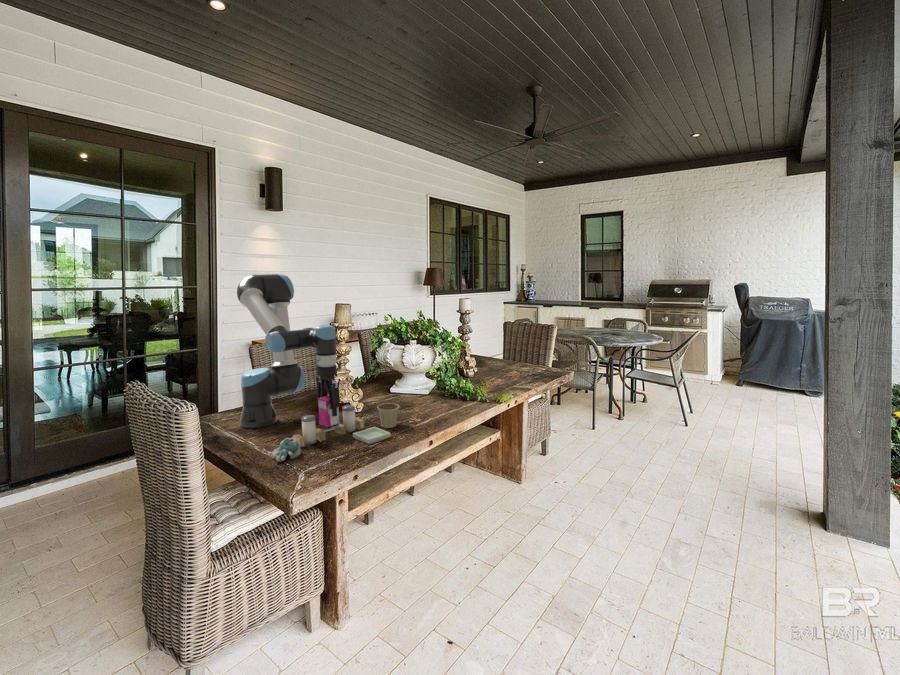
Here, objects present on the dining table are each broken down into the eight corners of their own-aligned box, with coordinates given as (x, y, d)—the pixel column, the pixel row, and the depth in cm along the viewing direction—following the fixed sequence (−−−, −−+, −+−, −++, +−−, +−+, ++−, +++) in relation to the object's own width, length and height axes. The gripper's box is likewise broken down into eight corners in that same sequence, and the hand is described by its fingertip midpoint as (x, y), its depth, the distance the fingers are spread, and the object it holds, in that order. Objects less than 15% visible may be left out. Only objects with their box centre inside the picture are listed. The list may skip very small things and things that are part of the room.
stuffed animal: (262, 449, 158) (277, 430, 169) (265, 467, 160) (280, 447, 171) (293, 449, 157) (305, 431, 168) (295, 467, 159) (308, 448, 171)
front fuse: (300, 442, 178) (298, 417, 177) (312, 438, 182) (311, 414, 180) (306, 445, 174) (305, 420, 173) (319, 441, 178) (317, 417, 177)
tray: (352, 437, 182) (352, 433, 182) (374, 430, 190) (374, 426, 190) (368, 444, 175) (368, 439, 175) (390, 437, 182) (390, 432, 182)
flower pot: (403, 427, 194) (403, 407, 193) (383, 431, 189) (382, 411, 188) (394, 421, 202) (393, 402, 201) (374, 425, 197) (373, 405, 196)
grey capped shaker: (340, 430, 191) (339, 407, 189) (351, 427, 194) (350, 404, 193) (347, 433, 187) (346, 409, 186) (358, 430, 191) (357, 407, 189)
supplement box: (330, 421, 188) (329, 394, 186) (339, 424, 184) (338, 397, 182) (318, 425, 184) (317, 397, 182) (327, 428, 180) (326, 400, 178)
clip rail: (289, 442, 178) (288, 433, 178) (353, 423, 199) (352, 416, 198) (299, 447, 173) (299, 438, 172) (364, 428, 193) (363, 420, 192)
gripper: (306, 362, 184) (308, 418, 188) (331, 370, 171) (333, 429, 175) (322, 360, 189) (325, 414, 193) (348, 367, 176) (350, 425, 180)
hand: (329, 421), depth 184 cm, fingers closed on supplement box, 6 cm apart
